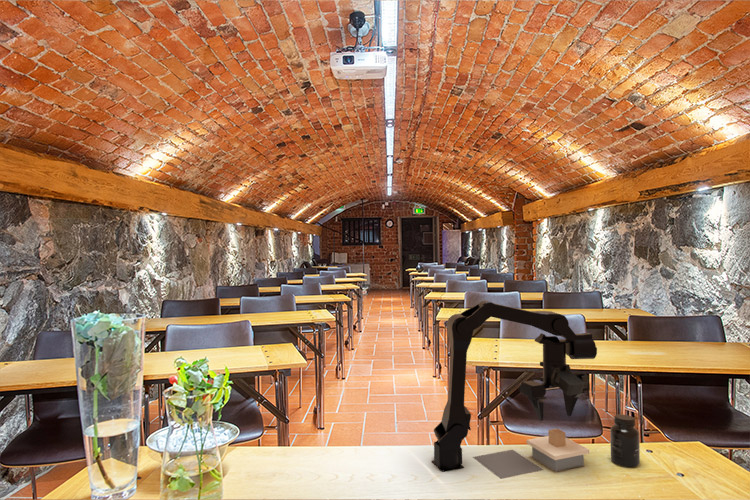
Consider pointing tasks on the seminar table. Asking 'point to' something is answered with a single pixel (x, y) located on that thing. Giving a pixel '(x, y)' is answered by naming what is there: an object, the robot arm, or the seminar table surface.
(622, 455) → the supplement bottle
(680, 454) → the seminar table surface
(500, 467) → the mat
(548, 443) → the lid
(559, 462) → the dish
